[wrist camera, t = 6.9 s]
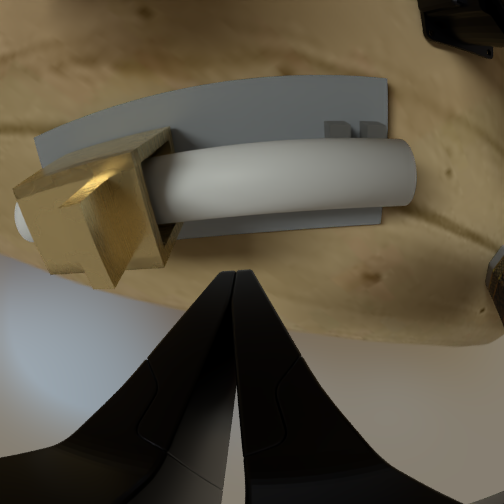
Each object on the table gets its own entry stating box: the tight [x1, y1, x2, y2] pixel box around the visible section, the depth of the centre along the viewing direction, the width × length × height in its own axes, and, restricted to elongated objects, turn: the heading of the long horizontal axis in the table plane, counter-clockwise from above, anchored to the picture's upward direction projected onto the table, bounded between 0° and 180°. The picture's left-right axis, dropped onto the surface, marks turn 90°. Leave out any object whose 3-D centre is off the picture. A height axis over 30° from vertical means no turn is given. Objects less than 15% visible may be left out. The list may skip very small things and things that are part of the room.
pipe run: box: [15, 75, 417, 242], centre depth 15 cm, size 24×10×6 cm, turn 96°
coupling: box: [13, 126, 184, 289], centre depth 14 cm, size 8×6×8 cm
